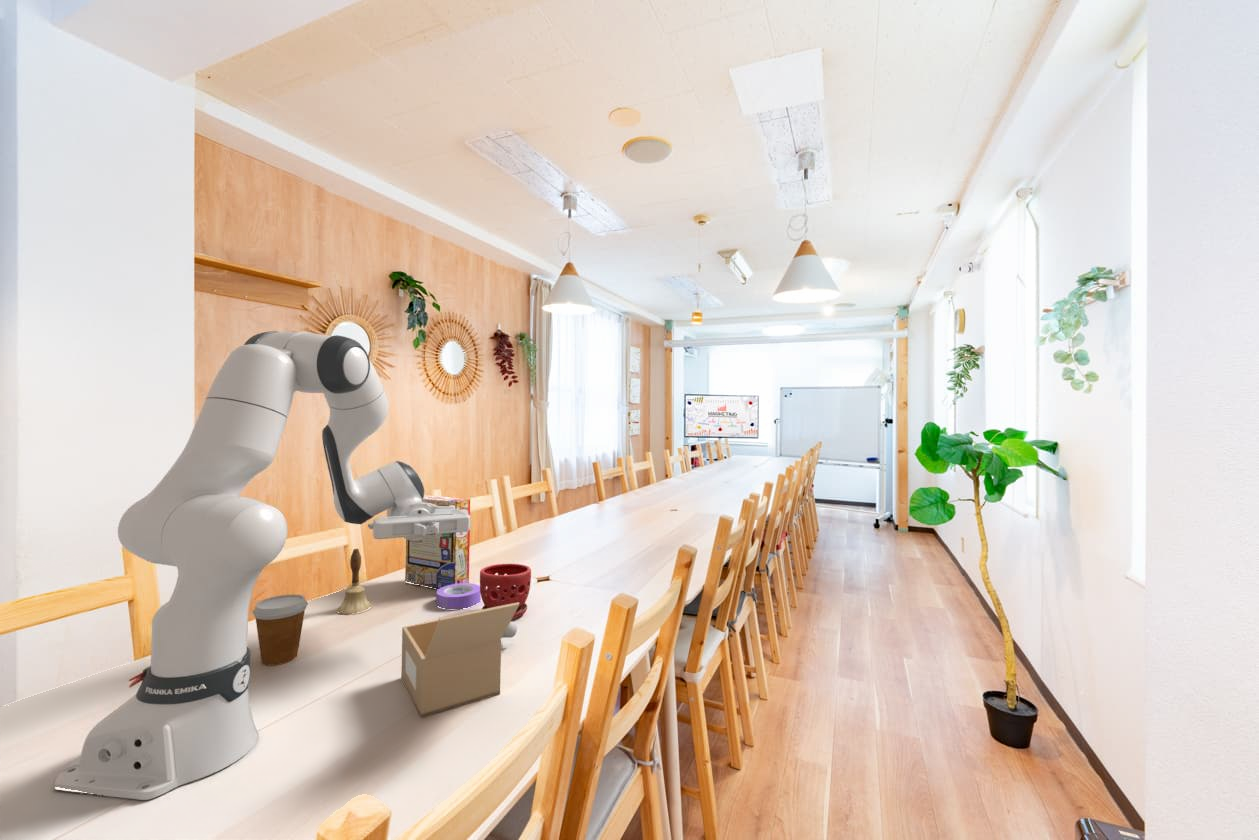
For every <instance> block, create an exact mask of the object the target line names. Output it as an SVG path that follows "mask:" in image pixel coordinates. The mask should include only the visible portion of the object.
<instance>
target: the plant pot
mask: <svg viewBox="0 0 1259 840" xmlns="http://www.w3.org/2000/svg"><path fill="white" fill-rule="evenodd" d="M531 580H532V568H531V567H530V566H528V565H525V564H521V563H498V564H497V563H496V564H492V565H489V566H485V567H482V568H481V569H480V572H479V586H480V593H481V600H482V602H483V606H482V607H481V610H483V609H488V608H493V607H497V606H502V605H507V604H512V603H517V602H519V606H518V608H517V610H516V612H515V614H514V616H513V618H512V619H511V620H514V619H518V618H519V617H521V616H522V615H524V614H525V613H526V612H527V610H528V604H527V603H526V602H527V600H528V597H529V594H530V590H531V589H530V588H531V583H532V582H531Z"/></svg>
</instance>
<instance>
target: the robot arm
mask: <svg viewBox="0 0 1259 840" xmlns="http://www.w3.org/2000/svg"><path fill="white" fill-rule="evenodd" d="M296 392H301V393H307V394H323V396H324V398H325V401H326V402H327V405H328V408H329V418H328V422H327V424H326V426H324V427H323V429H322V433H321V437H322V438H321V439H322V445H323V452H324V456H325V461H326V464H327V469H328V473H329V474H328V475H329V477H330V482H331V487H332V493H333V504H334V508H335V511H336V513H337V514H338V516H339V517H340V518H341V520H342V521H344V523H348V524H353V525H363V524H364V523H366V522H368V521H369V520H370V519H373V518H374V517H375V516H376V515H379V514H380V513H382V512H385V511H386V516H381V517H376V518H374V519H373V520H372V521H373V522H372V523H371V522H370V523H368V524H367V528H368V529H369V530H372V537H373V539H375V540H388V539H399V538H403V539H405V540H406V539H407V540H410V541H420V540H423V539H425V538H429V537H432V536H435V535H440V534H446V533H456V532H467V531H469V530H471V514H470V515H469V514H467V513H465V512H463V511H461V510H457V509H455V506H453V505H438V504H431V503H427V502H425V503H424V502H422V500H423V497H424V495H425V487H424V485H423V482H422V479H421V477H420V476H419V475H418V473H417V471H415V469H414V468H413V467H412V466H411V465H409V464H407V463H406V462H402V461H399V460H395V461H393V462H391V463H388V464H385V465H384V466H381V467H380V468H377V469H376V470H374V471H371V472H369V473H367V474H365V475H364V476H361V477H359V478H356V479H353V477H354V476H353V472H352V468H351V463H350V458H351V456H352V454H353V452H354V451H355V450H356V449H357V448H358V447H359V446H360V445H361V444H362V443H363V442H365V440H366V439H368V438H369V437H370V436H372V435H373V434H374V433H375V432H377V431H378V430H379V429H380V428H381V427H382V425H383V424H384V422H385V420H386V418H387V416H388V413H389V408H390V407H389V401H388V399H387V393H386V391H385V389H384V385H383V384H382V381H381V379H380V377H379V375H378V372H377V370H376V367H375V366H374V365H373V362H372V361H371V360H370V357H369V355H368V353H367V351H366V349H365V348H364V347H363V345H361V343H360V342H358V341H357V340H355V339H353V338H350V337H347V336H343V335H337V334H336V335H329V334H323V333H322V334H321V333H313V332H309V331H276V330H273V331H271V330H270V331H266V332H265V331H264V332H260V333H257V334H254V335H252V336H251V337H250V338H248V339H247V340H246V341H245V342H244V343H243V344H242V345H241V346H238V347H236V348H235V349H233V351H232V352H231V353H230V354H229V355H228V357H226V359H225V361H224V362H223V364H222V366H221V367H220V369H219V371H218V373H217V374H216V376H215V377H214V379H213V382H212V383H211V386H210V388H209V390H208V392H207V395H206V397H205V399H204V402H203V405H202V407H201V410H200V411H199V415H198V416H197V419H196V422H195V423H194V426H193V429H192V431H191V434H190V435H189V439H188V440H187V443H186V444H185V446H184V449H183V450H182V452H181V454H180V455H179V456H178V457H177V459H176V460H175V462H174V463H173V464H172V466H171V467H170V469H169V470H168V471H167V472H166V474H165V475H164V476H163V478H162V479H161V480H160V481H159V483H158V484H156V486H155V487H154V488H153V489H152V490H151V492H149V493H148V494H146V495H145V496H144V497H143V498H141V499H139V500H137V501H136V502H135V503H132V505H130V506H129V508H127V509H126V511H125V512H124V513H123V514H122V516H121V518H120V520H119V523H118V527H117V537H118V540H119V542H120V544H121V545H122V547H123V548H124V549H125V550H126V551H128V552H130V553H131V554H133V555H135V556H137V557H138V558H140V559H143V560H144V561H147V562H149V563H152V564H158V565H163V566H164V565H165V566H172V567H176V569H177V578H176V582H175V583H176V584H175V586H174V589H173V591H172V594H171V596H170V598H169V600H168V601H167V602H166V603H164V604H163V605H161V607H159V609H157V611H155V613H154V614H153V617H152V621H151V643H150V644H151V646H150V647H151V649H150V651H151V652H150V655H151V656H150V666H147V667H146V668H144V669H143V670H142V672H140V673H139V674H137V675H134V676H133V677H132V678H130V679H128V682H131V683H130V684H129V685H128V688H131V687H134V686H135V685H137V684H139V683H140V685H139V687H138V690H137V691H136V694H134V695H133V696H131V698H129V699H128V700H126V701H125V702H124V703H122V704H121V705H120V706H119V707H117V708H115V710H113V711H112V712H111V713H110V714H108V715H107V716H105V717H104V718H102V720H100V721H99V722H98V723H96V725H94V727H93V728H92V729H91V730H90V731H89V733H88V734H87V736H86V738H85V740H84V743H83V745H82V749H81V754H80V756H79V757H77V758H76V759H75V760H73V761H72V762H71V763H70V764H69V765H67V766H66V767H65V768H64V769H63V770H62V771H61V773H59V774H58V776H57V777H56V780H55V782H54V785H53V787H54V786H55V787H60V788H65V789H71V790H78V791H82V792H87V793H93V794H97V795H96V796H102V795H103V797H104V796H105V797H113V798H121V799H131V800H141V801H147V800H151V799H155V798H157V797H158V796H161V795H163V794H166V793H168V792H170V791H171V790H174V789H175V788H177V787H179V786H181V785H182V786H183V785H185V784H188V783H191V782H195V781H197V780H199V779H200V780H201V779H202V778H205V777H207V776H210V775H212V774H214V773H217V772H219V771H221V770H223V769H225V768H226V767H228V766H230V765H232V764H234V763H235V762H237V761H238V760H240V759H241V758H242V757H244V756H245V755H247V753H249V752H250V751H251V750H252V749H253V747H254V746H255V745H256V743H257V741H258V739H259V733H258V730H257V727H256V725H255V722H254V718H253V714H252V710H251V704H250V703H251V702H250V696H249V684H250V677H251V649H250V647H249V646H248V629H249V627H248V626H249V611H250V610H249V609H250V601H251V598H252V594H253V592H254V589H255V585H256V582H257V580H258V578H259V576H260V575H261V573H262V571H263V570H264V569H265V567H266V566H268V565H269V564H271V562H273V561H274V560H275V559H276V558H277V557H278V556H279V554H280V553H281V552H282V551H283V548H284V547H285V544H286V541H287V537H288V523H287V519H286V517H285V516H284V515H283V513H282V512H281V511H280V510H279V509H278V508H276V507H275V506H272V505H270V504H267V503H265V502H262V501H260V500H257V499H254V498H252V497H251V498H250V497H245V496H240V495H241V493H242V492H243V490H244V489H245V487H246V486H247V484H249V482H251V481H252V479H254V478H255V476H257V475H258V474H260V473H262V472H263V471H264V470H266V469H267V468H268V467H270V465H271V464H272V463H273V462H274V459H275V457H276V454H277V450H278V447H279V445H280V442H281V440H282V435H283V433H284V429H285V426H286V423H287V421H288V418H289V414H290V411H291V408H292V402H293V399H294V394H295V393H296ZM93 794H92V795H93Z"/></svg>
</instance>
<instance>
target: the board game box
mask: <svg viewBox="0 0 1259 840" xmlns="http://www.w3.org/2000/svg"><path fill="white" fill-rule="evenodd" d="M422 502H424V503H425V502H427V503H431V504H438V505H453V506H455V509H457V510H461V511H463V512H465V513H467V514H469V515H470V516H471V498H461V497H450V496H447V497H446V496H440V495H427V494H424V497H423V500H422ZM470 530H471V529H470ZM470 530H469V531H467V532H456V533H446V534H440V535H435V536H432V537H429V538H425V539H423V540H420V541H410V540H407V539H405V571H404V572H405V574H404V575H405V576H404V577H405V579H404V582H405V581H407V582H411V583H414V584H419V585H423V586H428V587H432V588H436V589H435V590H437V589H440V588H442V587H444V586H447V585H452V584H458V583H470V545H471V544H470V537H471V536H470V533H471V531H470ZM432 588H431V589H432Z"/></svg>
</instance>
